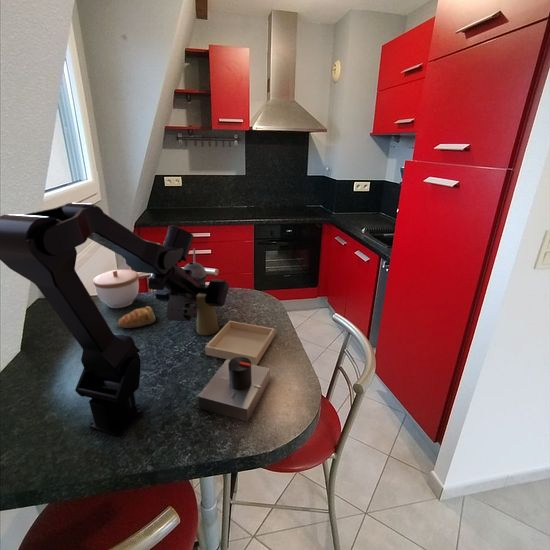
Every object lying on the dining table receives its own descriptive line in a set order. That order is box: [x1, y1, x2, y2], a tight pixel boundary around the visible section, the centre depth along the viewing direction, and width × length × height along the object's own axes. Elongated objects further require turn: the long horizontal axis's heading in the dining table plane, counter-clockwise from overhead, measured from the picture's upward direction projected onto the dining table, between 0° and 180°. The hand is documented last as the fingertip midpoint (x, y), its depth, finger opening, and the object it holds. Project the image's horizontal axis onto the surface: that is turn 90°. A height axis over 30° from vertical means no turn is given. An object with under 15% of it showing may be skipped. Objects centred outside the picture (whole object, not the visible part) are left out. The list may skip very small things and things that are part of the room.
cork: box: [196, 294, 220, 336], centre depth 86 cm, size 6×6×11 cm
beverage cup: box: [182, 248, 208, 316], centre depth 93 cm, size 7×7×20 cm
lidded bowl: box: [92, 269, 140, 309], centre depth 100 cm, size 13×13×11 cm
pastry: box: [117, 305, 156, 329], centre depth 90 cm, size 9×7×4 cm
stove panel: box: [197, 359, 271, 422], centre depth 64 cm, size 12×10×3 cm
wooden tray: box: [204, 320, 276, 366], centre depth 80 cm, size 13×13×2 cm
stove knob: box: [228, 357, 252, 390], centre depth 62 cm, size 4×4×5 cm
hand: (207, 302), depth 86 cm, fingers open, 9 cm apart
